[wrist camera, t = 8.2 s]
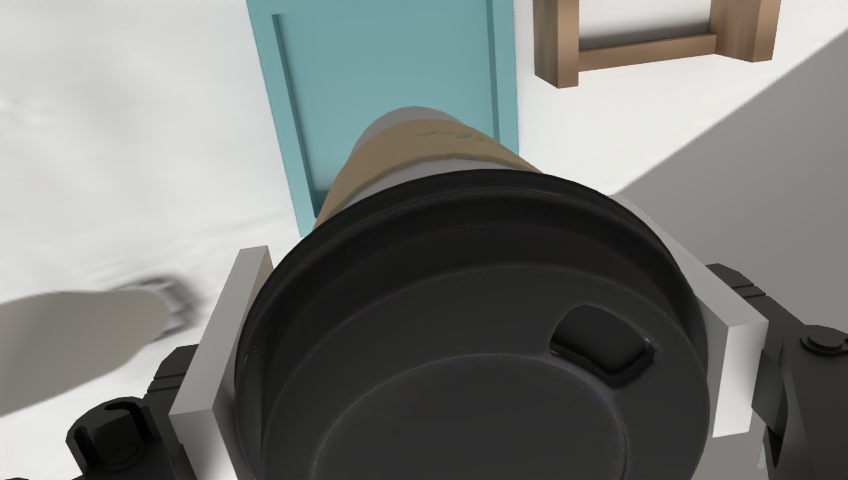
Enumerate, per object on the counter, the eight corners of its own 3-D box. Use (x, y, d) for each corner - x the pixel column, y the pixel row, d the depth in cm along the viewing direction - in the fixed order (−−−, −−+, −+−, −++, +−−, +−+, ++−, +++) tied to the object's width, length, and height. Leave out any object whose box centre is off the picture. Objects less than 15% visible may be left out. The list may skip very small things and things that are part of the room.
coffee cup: (550, 77, 22) (852, 243, 9) (502, 286, 26) (658, 626, 12) (305, 43, 21) (203, 181, 7) (293, 270, 24) (212, 637, 11)
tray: (253, -8, 34) (244, -6, 31) (499, -39, 34) (511, -39, 32) (304, 219, 40) (300, 237, 38) (510, 190, 41) (520, 205, 38)
